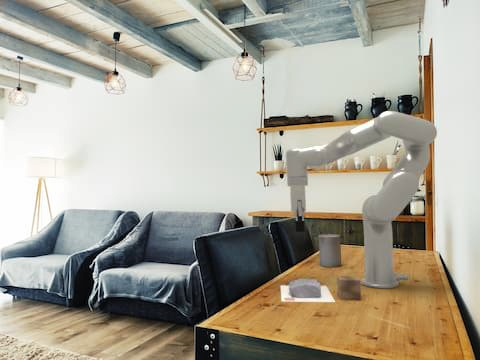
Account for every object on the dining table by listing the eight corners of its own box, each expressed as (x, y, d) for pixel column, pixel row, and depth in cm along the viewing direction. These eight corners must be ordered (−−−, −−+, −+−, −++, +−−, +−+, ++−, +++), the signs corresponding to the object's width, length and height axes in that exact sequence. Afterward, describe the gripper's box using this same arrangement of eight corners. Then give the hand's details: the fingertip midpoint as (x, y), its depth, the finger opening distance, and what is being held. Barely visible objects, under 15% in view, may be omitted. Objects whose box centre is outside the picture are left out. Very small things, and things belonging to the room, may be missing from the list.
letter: (326, 286, 131) (326, 285, 131) (335, 302, 111) (335, 301, 111) (280, 286, 132) (280, 285, 132) (281, 302, 112) (281, 301, 112)
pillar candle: (339, 263, 173) (338, 231, 174) (343, 267, 164) (341, 233, 164) (318, 263, 174) (317, 231, 175) (320, 267, 165) (319, 233, 165)
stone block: (292, 303, 116) (324, 296, 115) (289, 288, 116) (320, 281, 116) (289, 294, 127) (317, 288, 127) (286, 280, 128) (314, 274, 128)
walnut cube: (356, 295, 119) (356, 276, 119) (360, 300, 113) (360, 280, 113) (337, 294, 120) (337, 276, 120) (340, 300, 114) (340, 280, 114)
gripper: (286, 183, 146) (289, 230, 145) (288, 181, 131) (291, 234, 130) (306, 182, 145) (308, 229, 144) (309, 180, 130) (312, 233, 129)
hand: (300, 231), depth 137 cm, fingers closed
